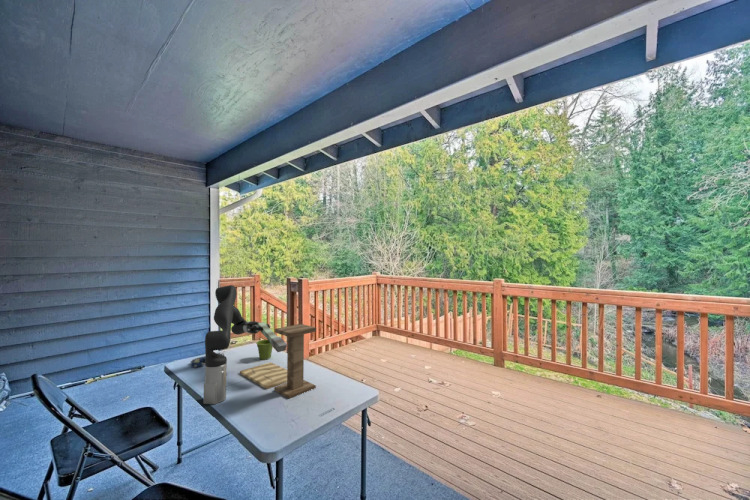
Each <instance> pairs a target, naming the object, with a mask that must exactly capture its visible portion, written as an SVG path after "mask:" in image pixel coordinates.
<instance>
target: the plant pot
mask: <svg viewBox="0 0 750 500" xmlns="http://www.w3.org/2000/svg"><path fill="white" fill-rule="evenodd" d="M255 344H256V347H257V351H258V355H259V360H261V361H262V360H263V361H265V360H269V359H271V358H272V352H273V346H272V345H271V343H270V342H269V341H268V339H262V340H261V339H260V340H258V341H256V342H255Z"/></svg>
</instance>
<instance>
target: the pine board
mask: <svg viewBox="0 0 750 500" xmlns="http://www.w3.org/2000/svg"><path fill="white" fill-rule="evenodd" d="M239 374H240V375H242V376H244V377H245V378H246V379H249V380H250V381H251V382H254V383H255V384H257V385H259V386H260V387H262V388H264V389H265V390H269V389H271V388H274V387H277V386H280V385H283V384H286V383H287V368H284V367H283V366H280V365H277V364H276V363H273V362H271V361H270V362H267V363H264V364H260V365H257V366H253V367H248V368H246V369H243V370H239Z"/></svg>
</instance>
